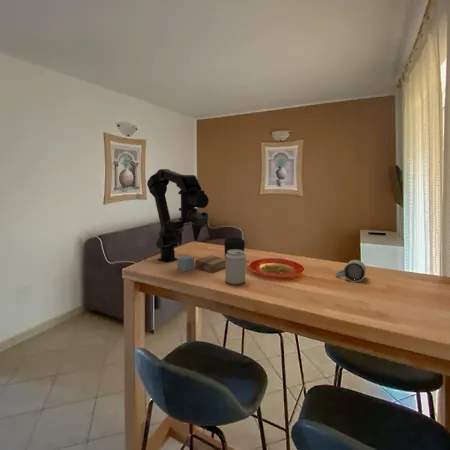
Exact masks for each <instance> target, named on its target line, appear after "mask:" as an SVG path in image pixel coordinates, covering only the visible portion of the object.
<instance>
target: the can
mask: <svg viewBox="0 0 450 450" xmlns="http://www.w3.org/2000/svg"><path fill="white" fill-rule="evenodd" d="M227 252H228V253H227V254H226V267H225V269H224V271H225V273H224V274H225V276H224V277H225V282H227V284H230V285H236V286H237V285H241V284H243V283H244V282H245V281H246V262H247V261H246V259H247V258H246V257H247V256H246V254H245V250H244V251H242V250H235V249H234V250H228V251H227Z"/></svg>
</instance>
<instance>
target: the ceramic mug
mask: <svg viewBox="0 0 450 450" xmlns="http://www.w3.org/2000/svg"><path fill="white" fill-rule="evenodd" d="M366 270H367V269H366V266H365V264H364V262H362V261H361V260H358V259H352V260H349V261H348V262H347V263H346V265H345V266H344V268H343V269H342V270H339V271H337V272H335V276H336V277H337V278H345V279H346V280H347V281H349V282H351V281H352V282H351V283H359V282H361V281H363V280H364V278H365V276H366ZM354 279H355V280H354Z"/></svg>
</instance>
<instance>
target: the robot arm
mask: <svg viewBox="0 0 450 450" xmlns="http://www.w3.org/2000/svg"><path fill="white" fill-rule="evenodd" d="M170 183H174V184H175V185H176V187H177V188H178V189H180V190H179V191H178V192H177V194H178V195H180V207H179V208H178V211H179V212H180V217H178V219H177V220H176V219H173V220H172V219H171V215H170V211H169V207H168V202H167V199H166V193H167V191H168V185H169V184H170ZM146 184H147V185H146V186H147V187H148V190H149V193H150V195H152V196H153V198H154V202H155V205H156V211H157V215H158V218H159V223H160V229H159V231H158V239H157V240H156V243H155V245H156V248H157V249H159V250H160V251H159V252H160V257H159V258H157V261H162V262H166V263H168V262H172V261H175V260H178V257H176V255H175V247H178V245H182V241H183V238H182V237H183V232H184V230H185V229H184V226H188V225H189V226H190V225H191V228H192V234H193V240H194V241H195V242H197V241H198V238H199V235H200V233H201V230H202V229H203V228H204V227H206V225H208V221H209V215H208V214H209V213H208V212H203V211H202V212H201V213H200V212H198V208H199V209H204V208H206V207H207V206H208V205H209V201H210V200H209V198H208V197H209V196H208V195H207V194H205V190H202V186H201V185H200V183H199V180H198V178H197V176H196V175H194V174H181V173H180V172H179V173H178V172H177V171H172V170H170V169H167V168H160V169H158V170H157V172H155V173H154V174H152V175H150V177H149V178H148V180H147V181H146Z"/></svg>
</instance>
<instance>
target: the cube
mask: <svg viewBox="0 0 450 450" xmlns="http://www.w3.org/2000/svg"><path fill="white" fill-rule="evenodd" d="M179 269H180V271H182V272H188V271H193V270H194V269H195V257H193V256H190V255H184V256H179V257H177V270H179Z"/></svg>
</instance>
